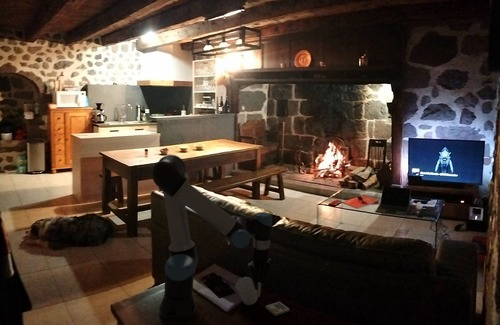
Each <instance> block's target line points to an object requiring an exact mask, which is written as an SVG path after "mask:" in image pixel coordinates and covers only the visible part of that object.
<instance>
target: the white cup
mask: <svg viewBox="0 0 500 325" xmlns="http://www.w3.org/2000/svg"><path fill="white" fill-rule="evenodd" d="M235 289H236V290H237V292H238V293H237V294H238V295H239V296H240V298H241V300H242V303H243V304H245V305H246V306H250V305H251V306H252V305H254V304H255V303H256V302H257V300H258V298H259V297H257V294H256V290H255V287H254V283H253V280H252V279H251V278H250V276H245V277H241V278H239V279H238V280H237V281H236V282H235Z"/></svg>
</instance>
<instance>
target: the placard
mask: <svg viewBox="0 0 500 325" xmlns="http://www.w3.org/2000/svg"><path fill="white" fill-rule="evenodd" d="M265 309H266V310H267V311H268V312H270V313H271V314H272V315H274V316H280V315H282V314H285V313H288V312H290V311H291V310H290V308H289V307H288V306H286V305H285V304H284V303H282V302H281V301H277V302H275V303H274V302H273V303H270V304H267V305H265Z"/></svg>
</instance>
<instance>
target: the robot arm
mask: <svg viewBox="0 0 500 325" xmlns="http://www.w3.org/2000/svg"><path fill="white" fill-rule="evenodd" d="M185 173H186V163H185V162H184V160H183V159H182V158H181V157H179V156H178V155H176V154H175V155H174V154H168V155H165V156H163V157H161V158H160V159H159V160H158V161H157V162H156V163H155V164H154V166H153V167H152V170H151V179H152V181H153V183H154V184H155V185H156V186H157V187H158V190H159V191H161V192H162V193H163V197H164V198H163V199H164V205H165V212H166V217H167V218H166V219H167V224H168V231H169V238H170V245H169V246H168V253H169V254H168V255H169V258H168V259H167V260H166V263H165V265H164V271H165V272H164V273H165V274H164V295H163V298H162V300H161V301H160V305H159V306H158V307H159V308H158V309H159V310H158V313H159V316H160V318H162V319H163V320H165V321H167V322H168V321H169V322H172V323H173V322H174V323H180V322H185V321H188V320H191V319H192V318H193V317H194V316H195V315H196V312H197V311H196V307H197V306H196V302H195V300H194V296H193V291H194V290H193V288H194V276H195V273H196V269H197V265H198V264H199V263H198V262H199V254H198V253H199V252H198V251H197V249H196V244H195V242H194V241H193V240H192V239H191V233H190V226H189V221H188V219H189V218H188V212H187V207H188V208H189V209H190V210H192V211H193V212H194V213H195V214H197V215H198V216H200V217H201V218H202V219H203V220H205V221H206V222H207V223H209V224H210V225H211V226H213V227H214V228H215V229H216V230H217V231H219V232H220V233H222V234H223V235H224V236H225V237H227V238H228V239H229V240H230V242H231V244H232V246H233V247H235V248H237V249H244V248H246V247H247V246H248V245H249V243H250V239H251V235H253V239H252V240H253V242H252V259H251V261H250V262H247V264H246V266H247V267H248V273H249V277H250V278H251V279H252V280H253V283H254V287H255V290H256V294H257V297H258V298H260V297H261V290H262V288H263V284H265V281H267V278H268V275H269V271H270V268H271V265H272V263H273V260H272V259H271V258H270V257H269V256H270V247H271V240H272V239H271V238H272V237H271V236H272V228H273V227H272V226H273V216H272V214H271V213H268V212H265V211H261V212H260V211H259V212H256V213H255V216H250V217H249V216H243V215H242V216H241V215H239V216H238V215H230V214H229V213H227V212H226V211H225V210H224V209H222V208H221V207H220V206H219V205H217V204H216V203H215V202H214V201H212V200H211V199H210V198H208V197H207V196H206V195H204V193H202V192H201V191H199V190H198V189H197V188H196V187H194V185H192V184H190V183H189V181H188V178H187V177H186V175H185ZM186 206H187V207H186Z"/></svg>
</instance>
